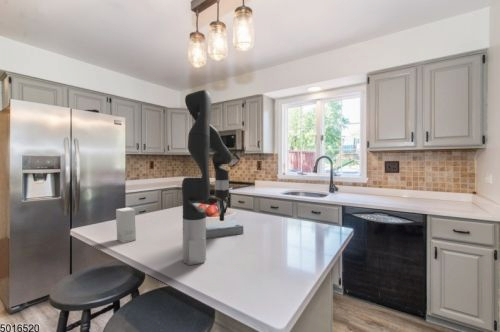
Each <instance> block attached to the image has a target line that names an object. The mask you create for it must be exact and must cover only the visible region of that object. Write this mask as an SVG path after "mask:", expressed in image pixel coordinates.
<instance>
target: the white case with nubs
mask: <svg viewBox="0 0 500 332" xmlns="http://www.w3.org/2000/svg"><path fill="white" fill-rule="evenodd" d="M240 234H244V226H243V227H235V228H226V229H218V230H209V231H206V239H210V238H217V237H224V236H225V237H226V236H234V235H240Z"/></svg>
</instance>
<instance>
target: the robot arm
mask: <svg viewBox="0 0 500 332" xmlns="http://www.w3.org/2000/svg"><path fill="white" fill-rule="evenodd" d="M184 102H185V107H186V108H187V110H188V112H189V114H190V115H191V117H192V118H193V120H194V123H193V125H192V126H191V128H190V130H189V132H188V135H187V150H188V152H189V155H190V156H191V157H192V158H193V160H194V162H195V163H196V164H197V166H198V168H199V170H200V174H201V177H184V178H183V179H182V182H181V197H182V262H183V263H184V264H187V265H188V266H192V265H196V264H197V265H198V264H203V263H205V261H206V260H207V238H206V223H207V210H206V209H204V208H202V207H199V206H198V205H195V204H194V203H192V201H194V202H195V201H198V202H199V201H208V200H209V198H210V193H211V181H210V176H211V175H210V150H212V151H214V153H213V154H212V156H211V160H212V165H213V170H214V172H215V177H214V178H215V179H214V198H215V199H217V200H216V206H217V207H216V208H217V212H218V214H219V216H218V217H219V218H218V219H219V222H220V221H225V214H226V213H227V210H228V204H227V200H226V199H227V198H229V197H230V183H229V170H228V169H226V168H224V166H223V165H230V164H231V162H232V158H233V157H232V153H231V151H230V150H229V148H228V147H227V146H226V145H225V143H224V141H223V140H222V138H221V135H220V132H219V131H218V130H217V128H215V126H213V125H212V124H211V112H212V102H213V101H212V97H211V94H210V93H209V91H208V90H206V89H201V90H198V91H194V92H191V93H189V94H187V95H185V98H184Z"/></svg>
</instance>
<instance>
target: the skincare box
mask: <svg viewBox="0 0 500 332" xmlns="http://www.w3.org/2000/svg"><path fill="white" fill-rule="evenodd" d="M115 219H116V240H118V241H119V242H121V243H122V244H125V243H129V242H134V241H136V239H137V234H136V233H137V230H136V228H137V227H136V209H135V208H132V207H130V206H129V207H122V208H116V209H115Z"/></svg>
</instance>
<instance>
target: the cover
mask: <svg viewBox="0 0 500 332" xmlns="http://www.w3.org/2000/svg"><path fill="white" fill-rule="evenodd" d="M227 221H228V222H227V223H224V224H214V225H206V231H209V230H218V229H226V228H235V227H243V228H244V225H243V224H242V223H240V222H239V221H238V220H236V219H231V220H227Z"/></svg>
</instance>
